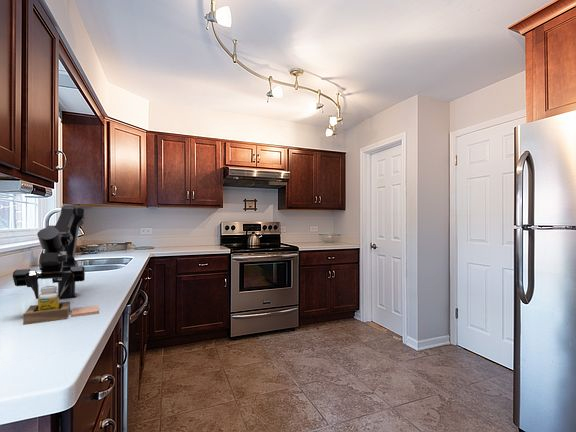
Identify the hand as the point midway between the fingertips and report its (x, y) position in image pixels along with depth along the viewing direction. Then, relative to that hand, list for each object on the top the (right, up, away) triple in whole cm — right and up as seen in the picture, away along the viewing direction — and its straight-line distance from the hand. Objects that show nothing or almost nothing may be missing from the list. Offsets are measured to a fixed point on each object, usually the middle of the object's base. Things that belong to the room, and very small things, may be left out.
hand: (48, 297), depth 97 cm
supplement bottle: (-1, -7, +1) cm, 7 cm away
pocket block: (-1, -7, +1) cm, 7 cm away
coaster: (+8, -7, +6) cm, 12 cm away
